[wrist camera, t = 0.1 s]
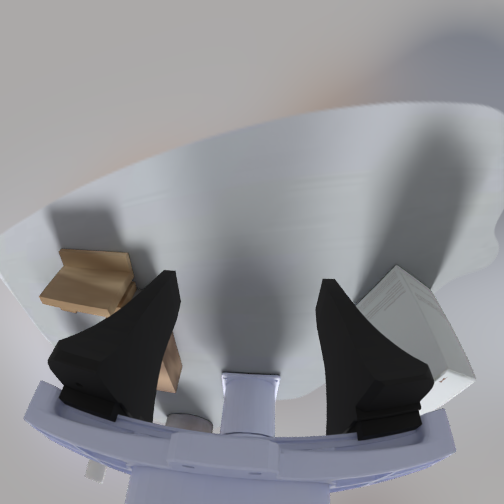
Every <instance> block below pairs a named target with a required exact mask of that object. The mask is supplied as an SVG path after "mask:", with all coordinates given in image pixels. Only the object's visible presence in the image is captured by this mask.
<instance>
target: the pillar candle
mask: <svg viewBox="0 0 504 504" xmlns="http://www.w3.org/2000/svg"><path fill="white" fill-rule="evenodd" d="M165 426H169V427H174V428H180V429H186V430H192V431H199V432H207V433H212V430H213V424H212V423H211V422H209V421H208V420H206V419H203V418H201V417H198V416H193V415H190V414H170V415H169V416H168V418H167V422H166V425H165Z"/></svg>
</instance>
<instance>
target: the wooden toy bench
mask: <svg viewBox="0 0 504 504" xmlns="http://www.w3.org/2000/svg"><path fill="white" fill-rule="evenodd" d="M59 254H60V257H61V259H62V262H63V265H64V266H63V267H62V268H61V270H60V271H59V272H58V273H57V274H56V276H55V277H54V278H53V279H52V280H51V282H50V283H49V284H48V285H47V287H46V288H45V289H44V290H43V292H42V293H41V294H40V296H39V297H40V299H41V301H42V303H43V304H46V305H50V306H55V307H59V308H61V310H64V311H69V312H73V313H77V311H78V312H83V313H88V314H93V315H99V316H104V317H106V318H108V317H109V316H111V315H112V314H114V313H115V312H116V311H118V310H119V309H121V308H122V307H123V306H125V305H126V304H127V303H128V302H129V301H131V299H132V297H133V296H134V294H135V292H136V290H137V287H136V284H135V282H133V281H132V279H133V278H134V274H133V270H132V266H131V262H130V258H129V254H128V253H123V252H106V251H90V250H74V249H61V250H60V251H59Z"/></svg>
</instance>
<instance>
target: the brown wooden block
mask: <svg viewBox="0 0 504 504" xmlns="http://www.w3.org/2000/svg"><path fill="white" fill-rule="evenodd" d="M142 290H143V289H137V290H136V292H135V294H134V296H133V297H132V299H133V298H134V297H135V296H137V295H138V294H139V293H140V292H141V291H142ZM132 299H131V300H132ZM181 370H182V363H181V360H180V356H179V353H178V350H177V346H176V342H175V339H174V335H173V331H172V334H171V337H170V339H169V342H168V345H167V348H166V351H165V353H164V357H163V360H162V364H161V369H160V374H159V379H158V384H157V390H160V391H166V392H171V393H176V390H177V386H178V382H179V378H180V374H181Z"/></svg>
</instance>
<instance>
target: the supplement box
mask: <svg viewBox="0 0 504 504" xmlns="http://www.w3.org/2000/svg"><path fill="white" fill-rule="evenodd" d="M356 307H357V308H358V310H359V311H360V312H361V313H362V314H363V315H364V316H365V318H366V319H367V320H368V321H369V322H370V323H371V324H372V325H373V326H374V327H375V328H376V329H377V330H378V331H380V332H381V333H382V334H383V335H384V336H385V337H386V338H388V339H389V340H390V341H391V342H393V343H394V344H395V345H397V346H398V347H399V348H401V349H402V350H404V351H405V352H407V353H408V354H410V355H412V356H413V357H415V358H417V359H419V360H421V361H422V362H424V363H426V364H428V366H429V368H430V370H431V373H432V376H433V379H434V386H433V388H432V389H431V390H430V392H429V393H428V394H427V395H426V396H425V397H424V398H423V399H422V400H421V401H420V404H421V410H419V414H420V416H421V415H423V414H425V413H428V412H431V411H434V410H436V409H437V408H439V407H440V406H442V405H443V404H445V403H446V402H448V401H449V400H451V399H452V398H454V397H455V396H456V395H458V394H459V393H460V392H462V391H463V390H464V389H466V388H467V387H468V386H470V385H471V384H472V383H473V382H475V381H476V377H475V374H474V372H473V369H472V367H471V365H470V362H469V360H468V358H467V356H466V354H465V352H464V350H463V348H462V346H461V344H460V342H459V340H458V338H457V336H456V334H455V332H454V330H453V328H452V326H451V324H450V323H449V321H448V319H447V317H446V315H445V314H444V312H443V310H442V308H441V307H440V305H439V303H438V301H437V299H436V298H435V296H434V294H433V293H432V291H431V290H430V289H429V288H428V287H426V286H425V285H424V284H422V283H421V282H420V281H418V280H417V279H416V278H414V277H413V276H412V275H410V274H409V273H407V272H406V271H405V270H403V269H402V268H400V267H399V266H398V265H396V266H395V267H394V268H393V269H392V270H391V271H390V272H389V273H388V274H387V275H386V276H385V277H384V278H383V279H382V280H381V281H380V282H379V283H378V284H377V285H376V286H375V287H374V288H373V289H372V290H371V291H370V292H369V293H368V294H367V295H366V296H365V297H364V298H363V299H362V300H361V301H360V302H359V303H358V304H357V305H356Z"/></svg>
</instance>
